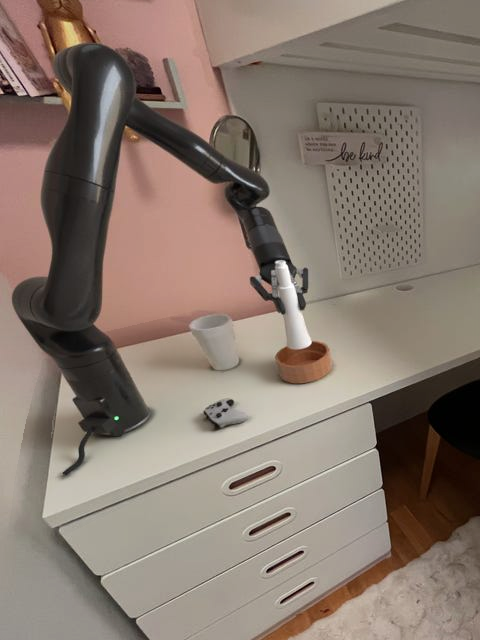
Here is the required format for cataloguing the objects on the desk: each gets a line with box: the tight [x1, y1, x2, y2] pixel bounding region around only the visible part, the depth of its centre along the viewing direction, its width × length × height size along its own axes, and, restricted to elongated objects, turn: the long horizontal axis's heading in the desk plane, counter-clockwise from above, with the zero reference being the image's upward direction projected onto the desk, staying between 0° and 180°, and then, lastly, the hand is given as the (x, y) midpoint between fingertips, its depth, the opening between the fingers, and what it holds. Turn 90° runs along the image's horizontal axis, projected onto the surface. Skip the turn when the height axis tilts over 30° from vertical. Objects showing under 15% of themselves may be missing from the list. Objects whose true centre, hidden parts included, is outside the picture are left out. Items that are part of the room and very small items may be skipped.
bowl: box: [274, 340, 333, 384], centre depth 107 cm, size 13×13×6 cm
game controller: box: [202, 397, 249, 430], centre depth 90 cm, size 10×5×6 cm
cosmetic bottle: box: [275, 260, 313, 350], centre depth 98 cm, size 6×6×22 cm
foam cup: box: [188, 313, 240, 371], centre depth 106 cm, size 10×9×13 cm
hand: (293, 310), depth 97 cm, fingers closed on cosmetic bottle, 4 cm apart
